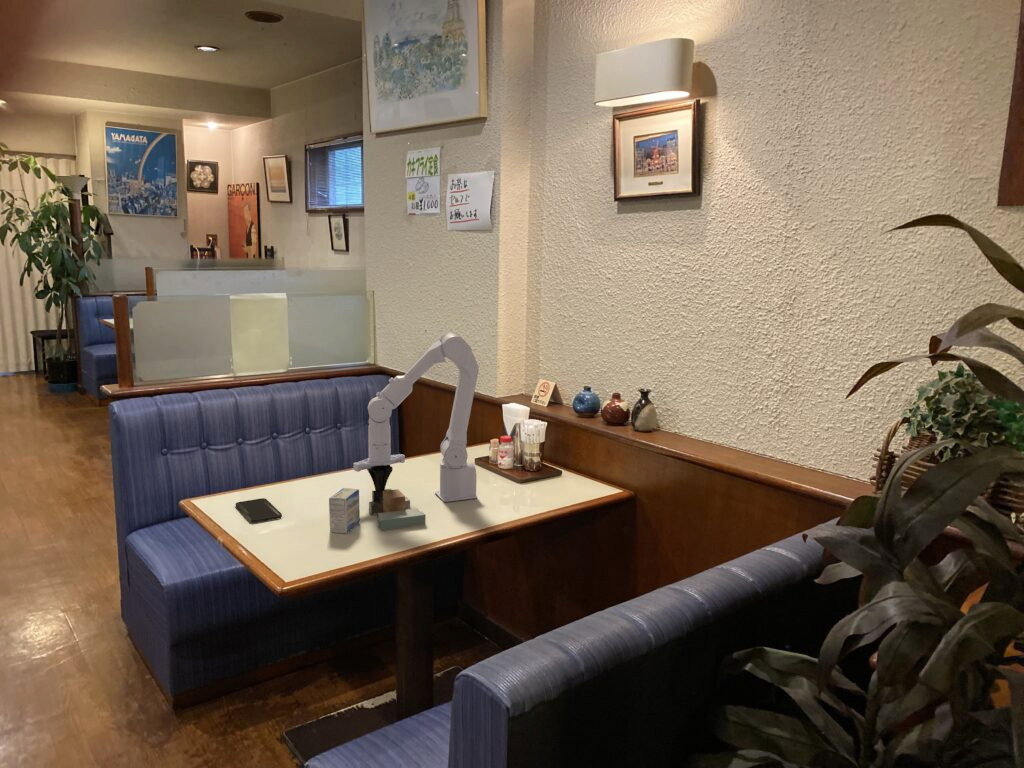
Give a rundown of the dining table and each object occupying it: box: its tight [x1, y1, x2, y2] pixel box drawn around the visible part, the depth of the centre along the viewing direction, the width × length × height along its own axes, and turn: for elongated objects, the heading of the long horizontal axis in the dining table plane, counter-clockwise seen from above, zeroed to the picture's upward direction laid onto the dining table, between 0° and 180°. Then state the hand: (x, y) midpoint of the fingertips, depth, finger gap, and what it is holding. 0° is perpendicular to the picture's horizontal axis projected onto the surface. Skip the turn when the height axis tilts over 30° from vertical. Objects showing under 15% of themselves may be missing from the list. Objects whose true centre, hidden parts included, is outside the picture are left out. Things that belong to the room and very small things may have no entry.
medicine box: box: [328, 487, 361, 534], centre depth 183 cm, size 8×4×9 cm, turn 168°
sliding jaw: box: [368, 488, 411, 515], centre depth 198 cm, size 10×9×3 cm
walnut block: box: [383, 488, 406, 513], centre depth 191 cm, size 4×6×6 cm, turn 25°
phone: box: [235, 498, 283, 524], centre depth 193 cm, size 8×1×15 cm
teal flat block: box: [377, 507, 426, 531], centre depth 187 cm, size 11×5×2 cm, turn 115°
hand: (379, 492), depth 203 cm, fingers closed
